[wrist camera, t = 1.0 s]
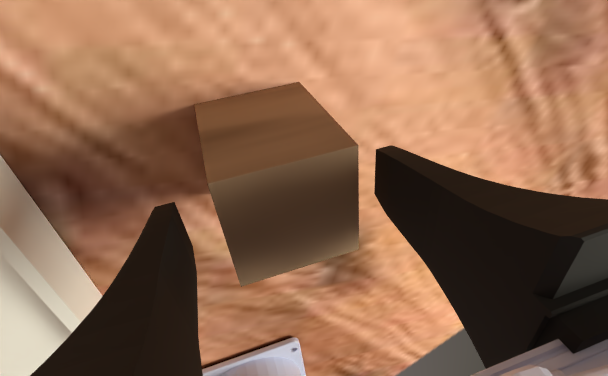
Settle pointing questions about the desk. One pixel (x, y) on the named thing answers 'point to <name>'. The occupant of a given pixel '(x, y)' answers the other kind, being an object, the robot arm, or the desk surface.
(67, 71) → the desk surface
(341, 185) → the walnut block
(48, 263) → the tray
